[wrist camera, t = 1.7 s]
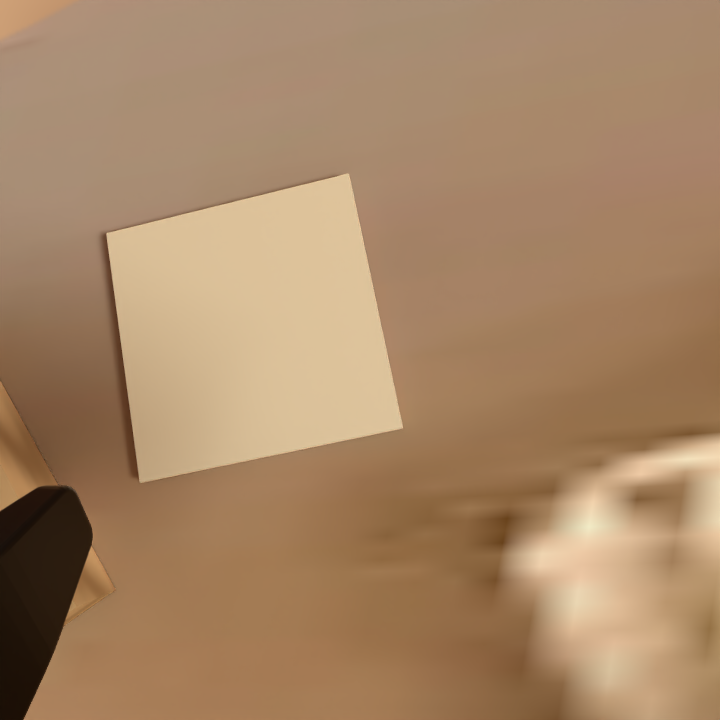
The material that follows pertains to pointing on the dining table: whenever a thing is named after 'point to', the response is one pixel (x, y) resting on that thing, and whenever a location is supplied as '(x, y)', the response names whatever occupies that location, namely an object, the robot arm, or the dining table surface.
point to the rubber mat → (250, 331)
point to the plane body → (27, 472)
